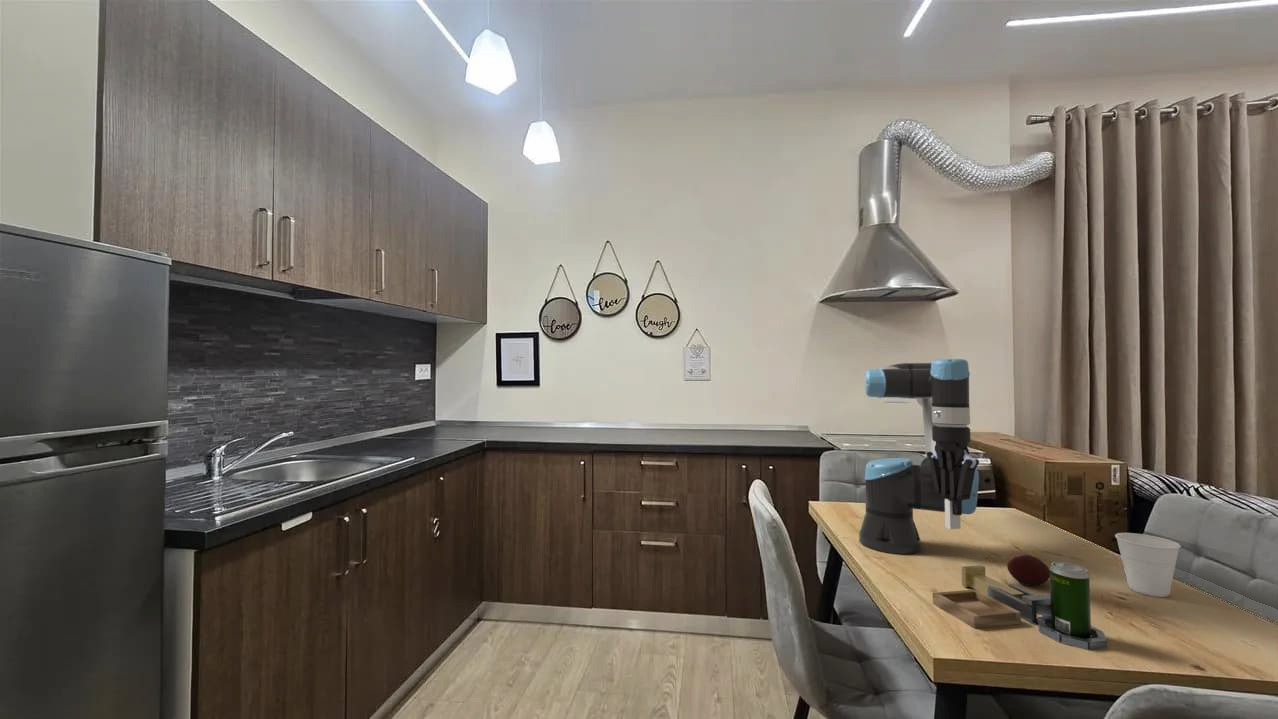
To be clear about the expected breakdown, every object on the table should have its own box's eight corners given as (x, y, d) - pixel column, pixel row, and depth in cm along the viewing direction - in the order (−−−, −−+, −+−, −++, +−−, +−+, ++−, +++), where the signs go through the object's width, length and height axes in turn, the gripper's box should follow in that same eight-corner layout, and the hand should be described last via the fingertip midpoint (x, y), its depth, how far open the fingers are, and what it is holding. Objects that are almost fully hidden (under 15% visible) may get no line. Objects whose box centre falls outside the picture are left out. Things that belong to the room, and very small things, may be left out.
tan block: (962, 585, 108) (961, 566, 108) (981, 583, 109) (981, 565, 109) (1007, 608, 97) (1007, 587, 97) (1029, 606, 98) (1028, 586, 98)
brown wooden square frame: (932, 603, 100) (932, 592, 100) (975, 599, 102) (975, 589, 102) (974, 628, 90) (974, 616, 90) (1020, 623, 92) (1020, 612, 92)
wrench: (981, 601, 101) (981, 580, 101) (1019, 598, 102) (1018, 577, 102) (1076, 651, 83) (1075, 625, 83) (1120, 646, 84) (1119, 620, 84)
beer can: (1085, 646, 84) (1083, 575, 84) (1046, 632, 89) (1044, 565, 89) (1095, 637, 87) (1093, 568, 87) (1057, 624, 92) (1055, 559, 92)
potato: (999, 580, 112) (999, 553, 112) (1023, 574, 115) (1023, 548, 115) (1037, 593, 105) (1036, 565, 105) (1061, 586, 108) (1060, 559, 108)
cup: (1167, 586, 108) (1165, 536, 108) (1194, 605, 99) (1192, 550, 99) (1107, 579, 112) (1106, 530, 113) (1129, 596, 103) (1127, 543, 104)
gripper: (916, 423, 120) (917, 520, 119) (959, 428, 107) (961, 537, 106) (943, 422, 122) (944, 519, 121) (989, 427, 109) (991, 536, 108)
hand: (952, 527), depth 114 cm, fingers closed
